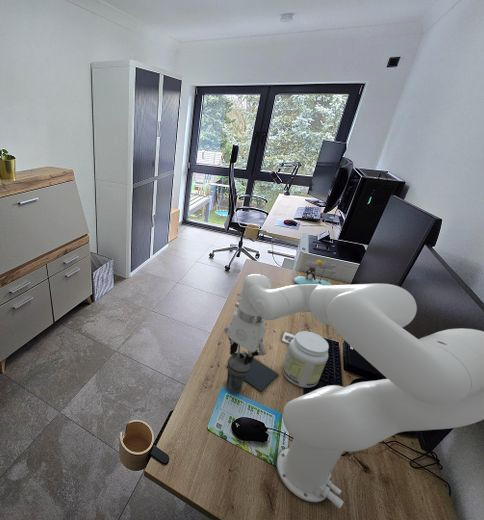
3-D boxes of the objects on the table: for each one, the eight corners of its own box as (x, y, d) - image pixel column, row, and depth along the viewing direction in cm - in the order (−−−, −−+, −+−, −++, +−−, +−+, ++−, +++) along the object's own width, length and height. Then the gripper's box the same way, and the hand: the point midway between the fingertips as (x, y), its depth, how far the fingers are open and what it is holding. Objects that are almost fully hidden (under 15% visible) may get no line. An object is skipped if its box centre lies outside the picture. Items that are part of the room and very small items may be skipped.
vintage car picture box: (322, 346, 121) (326, 338, 119) (321, 356, 116) (325, 347, 114) (284, 332, 128) (286, 324, 126) (281, 341, 123) (284, 333, 121)
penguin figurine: (292, 285, 164) (300, 261, 157) (293, 276, 173) (300, 254, 166) (333, 294, 156) (343, 270, 149) (332, 285, 164) (341, 261, 158)
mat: (277, 375, 107) (278, 374, 107) (260, 392, 101) (260, 391, 100) (244, 353, 117) (245, 352, 117) (226, 367, 110) (227, 366, 110)
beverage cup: (245, 398, 98) (256, 355, 89) (223, 394, 100) (232, 351, 90) (242, 381, 105) (253, 339, 96) (222, 377, 106) (230, 336, 97)
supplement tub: (312, 366, 111) (326, 332, 103) (321, 393, 101) (337, 357, 93) (278, 360, 114) (289, 326, 106) (283, 384, 103) (296, 349, 96)
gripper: (219, 304, 91) (212, 348, 99) (270, 333, 79) (257, 380, 87) (233, 296, 95) (225, 338, 103) (284, 322, 83) (270, 368, 92)
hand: (240, 357), depth 95 cm, fingers open, 4 cm apart
